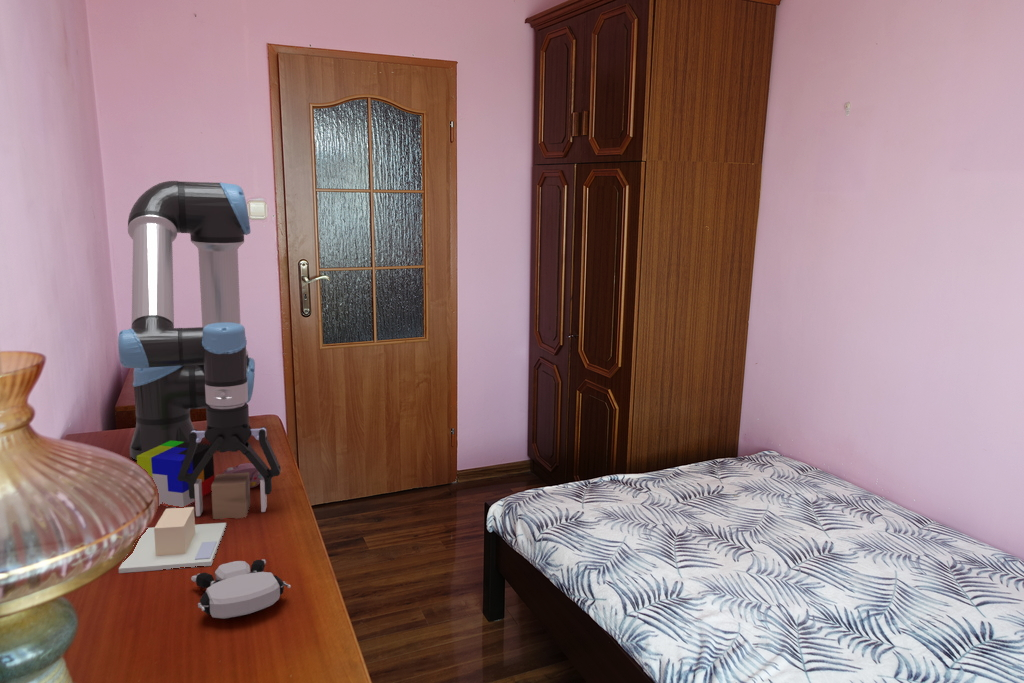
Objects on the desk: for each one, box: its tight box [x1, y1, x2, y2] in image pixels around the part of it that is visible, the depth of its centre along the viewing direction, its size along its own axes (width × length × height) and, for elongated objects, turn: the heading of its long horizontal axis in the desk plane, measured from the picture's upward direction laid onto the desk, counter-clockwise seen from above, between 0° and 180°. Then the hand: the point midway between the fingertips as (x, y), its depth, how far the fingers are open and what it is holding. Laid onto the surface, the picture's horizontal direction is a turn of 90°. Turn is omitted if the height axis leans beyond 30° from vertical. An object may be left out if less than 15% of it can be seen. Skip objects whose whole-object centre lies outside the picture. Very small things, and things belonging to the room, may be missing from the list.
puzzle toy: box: [136, 441, 215, 507], centre depth 142 cm, size 10×10×10 cm
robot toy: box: [190, 559, 291, 620], centre depth 105 cm, size 12×4×15 cm
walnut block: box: [211, 473, 251, 520], centre depth 135 cm, size 6×6×7 cm
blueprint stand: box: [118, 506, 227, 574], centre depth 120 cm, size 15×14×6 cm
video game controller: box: [222, 462, 262, 488], centre depth 147 cm, size 10×5×7 cm, turn 123°
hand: (232, 511), depth 136 cm, fingers open, 11 cm apart
